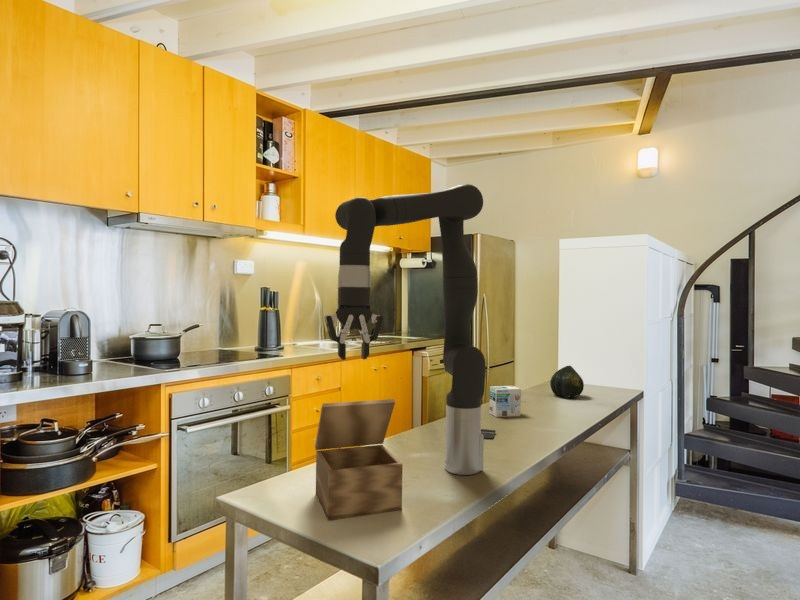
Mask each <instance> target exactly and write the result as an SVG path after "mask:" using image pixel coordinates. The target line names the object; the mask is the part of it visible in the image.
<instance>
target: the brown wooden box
mask: <svg viewBox="0 0 800 600" xmlns="http://www.w3.org/2000/svg"><path fill="white" fill-rule="evenodd" d="M315 496H316V498H317V500H318V503H319V504H320V506H321V508H322V510H323V513H324V514H325V516H326V518H327V520H328V522H329V521H334V520H335V521H336V520H341V519H348V518H354V517H363V516H369V515H375V514H383V513H389V512H397V511H402V510H403V463H402V461H401V460H400V459H398V458H397V457H396V456H395V455H394V454H393V453H392V452H391V451H389V449H387V448H386V447H385V446H384V445H383V444H375V445H365V446H354V447H344V448H333V449H323V450H315Z"/></svg>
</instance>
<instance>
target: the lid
mask: <svg viewBox="0 0 800 600" xmlns="http://www.w3.org/2000/svg"><path fill="white" fill-rule="evenodd" d="M395 404H396V401H395V399H394V398H391V399H389V398H388V399H377V400H376V399H375V400H374V399H372V400H359V401H358V400H356V401H344V402H343V401H342V402H328V403H322V405H321V411H320V416H319V421H318V427H317V433H316V439H315V444H314V450H315V451H321V450H332V449H342V448H353V447H363V446H373V445H383V444H384V442H385V438H386V435H387V431H388V428H389V425H390V421H391V418H392V414H393V410H394V409H395V408H394V407H395Z"/></svg>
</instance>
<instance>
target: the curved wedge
mask: <svg viewBox="0 0 800 600" xmlns="http://www.w3.org/2000/svg"><path fill="white" fill-rule="evenodd" d="M481 434H483V435H484V440H494V439H495V434H496V430H495V429H487V428H486V429H483V428H481Z"/></svg>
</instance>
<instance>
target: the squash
mask: <svg viewBox="0 0 800 600" xmlns="http://www.w3.org/2000/svg"><path fill="white" fill-rule="evenodd" d="M549 385H550V388H551V391H552V393H553V394H554V395H556V396H559V397H561V396H562V397H564V398H565V399H569V398H571V399H572V398H576V397H578V396H579V395H581V394H582V393H583V391H584V387H585V385H584V380H583V378H582V376H581V375H579V373H578V372H577V371H576V369H574V367H573V366H571V365H566V366H564V367H561V368H560V369H558V370H557V371H555V372H554V373H553V375H552V376H551V379H550V384H549Z"/></svg>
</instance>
